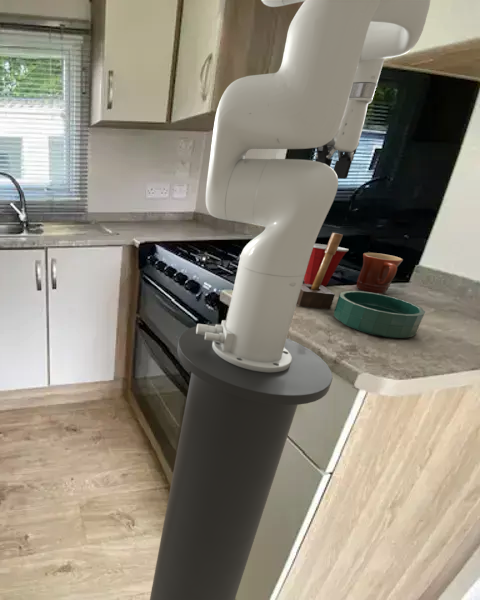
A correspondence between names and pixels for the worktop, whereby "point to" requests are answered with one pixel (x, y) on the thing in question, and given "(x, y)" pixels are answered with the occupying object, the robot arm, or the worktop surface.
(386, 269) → the mug
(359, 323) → the bowl
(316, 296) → the holder
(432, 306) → the worktop surface
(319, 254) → the plastic cup
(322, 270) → the stick
